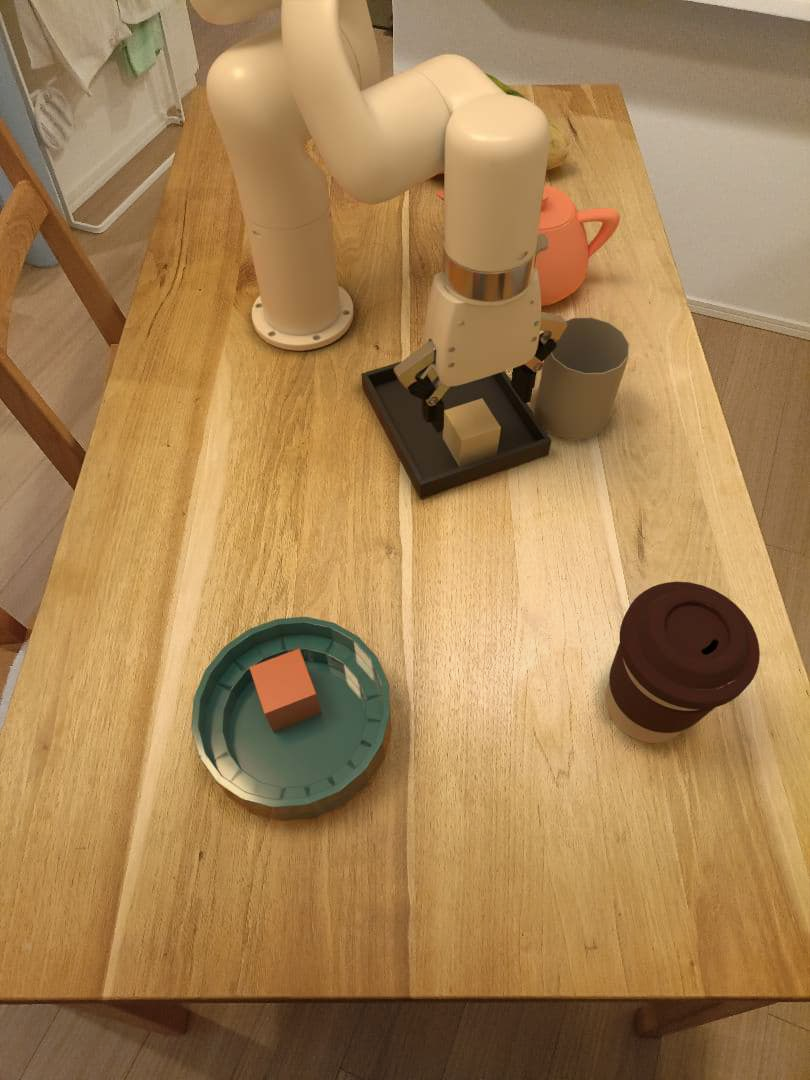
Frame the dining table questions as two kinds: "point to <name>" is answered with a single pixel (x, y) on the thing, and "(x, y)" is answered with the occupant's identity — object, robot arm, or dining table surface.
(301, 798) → the bowl
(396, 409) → the tray
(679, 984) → the dining table surface
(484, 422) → the block
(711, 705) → the coffee cup
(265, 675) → the block
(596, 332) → the cup
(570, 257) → the teapot
